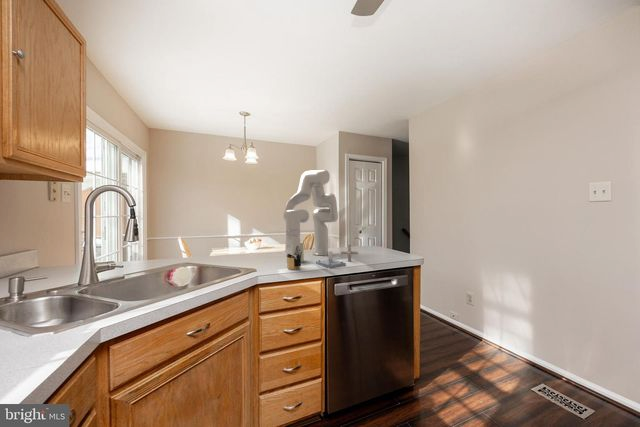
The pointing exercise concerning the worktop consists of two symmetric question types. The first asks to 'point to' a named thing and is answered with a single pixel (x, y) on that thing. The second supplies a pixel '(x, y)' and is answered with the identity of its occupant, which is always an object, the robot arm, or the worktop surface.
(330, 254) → the shaft stand
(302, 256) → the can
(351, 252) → the pipe connector
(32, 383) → the worktop surface
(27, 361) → the worktop surface
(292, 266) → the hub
